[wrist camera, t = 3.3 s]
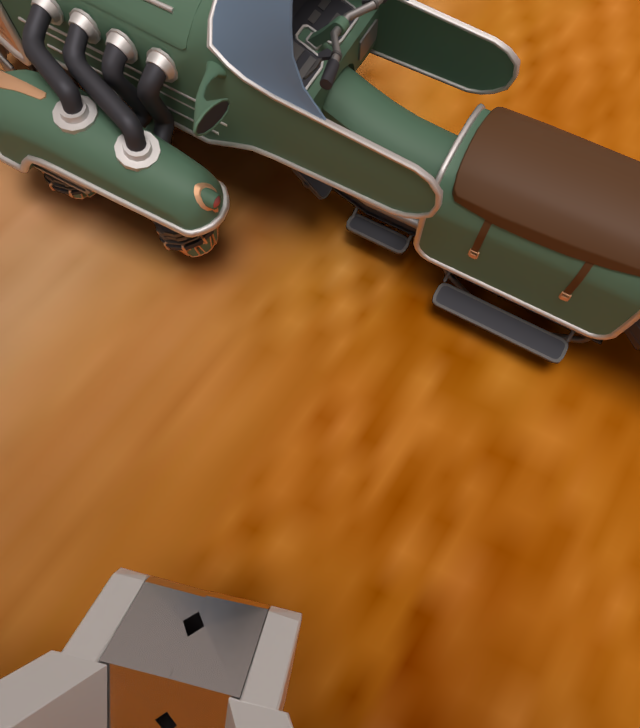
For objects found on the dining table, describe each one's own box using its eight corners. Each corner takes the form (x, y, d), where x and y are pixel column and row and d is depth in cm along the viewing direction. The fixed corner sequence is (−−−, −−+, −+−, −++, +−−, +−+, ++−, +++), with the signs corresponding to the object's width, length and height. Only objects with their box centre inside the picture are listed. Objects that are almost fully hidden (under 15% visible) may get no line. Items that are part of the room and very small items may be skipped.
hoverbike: (111, -40, 22) (-2, -376, 14) (796, 262, 18) (1158, 23, 10) (-68, 149, 19) (-327, -140, 12) (694, 556, 15) (1080, 533, 8)
